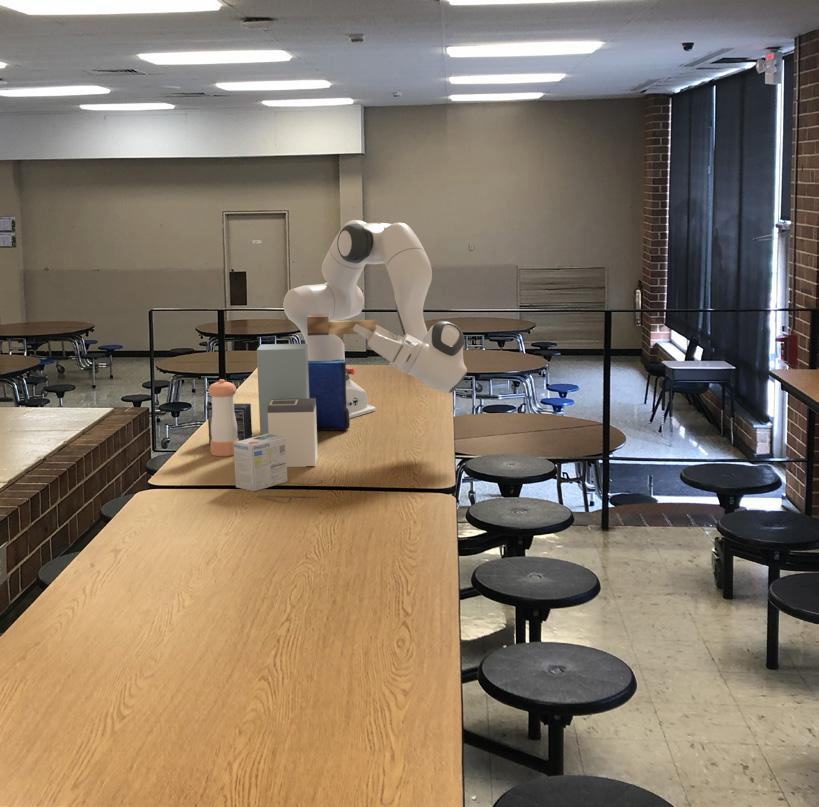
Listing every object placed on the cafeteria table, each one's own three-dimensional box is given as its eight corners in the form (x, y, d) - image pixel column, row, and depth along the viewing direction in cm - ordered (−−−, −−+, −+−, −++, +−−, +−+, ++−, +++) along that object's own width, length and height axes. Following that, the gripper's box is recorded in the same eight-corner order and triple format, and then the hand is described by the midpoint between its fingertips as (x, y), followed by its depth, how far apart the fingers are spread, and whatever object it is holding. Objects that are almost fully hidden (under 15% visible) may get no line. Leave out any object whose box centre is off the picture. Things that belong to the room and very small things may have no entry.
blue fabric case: (350, 428, 314) (349, 357, 310) (348, 432, 309) (346, 360, 305) (300, 428, 315) (298, 358, 312) (296, 432, 310) (294, 360, 307)
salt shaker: (205, 454, 285) (201, 380, 282) (222, 448, 291) (219, 376, 288) (228, 457, 282) (224, 382, 278) (245, 451, 288) (242, 378, 285)
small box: (253, 440, 300) (251, 402, 298) (247, 446, 294) (245, 407, 292) (215, 440, 301) (213, 402, 300) (208, 446, 295) (206, 407, 293)
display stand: (312, 445, 294) (308, 343, 289) (309, 454, 283) (306, 349, 278) (264, 446, 293) (259, 344, 288) (259, 455, 283) (255, 350, 278)
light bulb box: (268, 477, 261) (266, 432, 259) (288, 482, 257) (287, 436, 255) (234, 487, 253) (231, 441, 251) (254, 492, 249) (252, 445, 247)
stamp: (307, 335, 270) (307, 317, 269) (308, 332, 275) (308, 314, 274) (375, 334, 270) (375, 315, 270) (375, 331, 275) (375, 313, 275)
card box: (317, 456, 281) (315, 397, 278) (315, 466, 271) (313, 405, 268) (273, 457, 280) (271, 398, 278) (269, 467, 271) (267, 406, 268)
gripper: (408, 335, 284) (361, 309, 282) (411, 346, 264) (359, 318, 262) (396, 357, 285) (349, 331, 283) (398, 369, 265) (347, 342, 263)
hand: (354, 325), depth 272 cm, fingers closed on stamp, 3 cm apart
